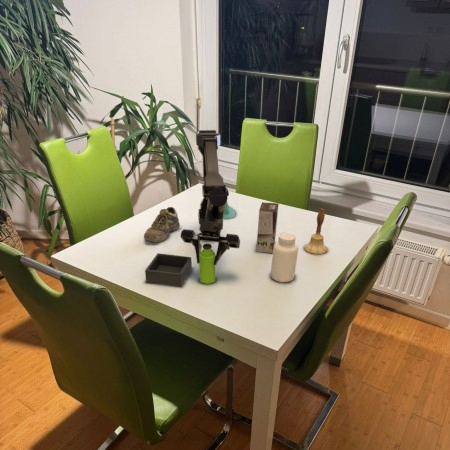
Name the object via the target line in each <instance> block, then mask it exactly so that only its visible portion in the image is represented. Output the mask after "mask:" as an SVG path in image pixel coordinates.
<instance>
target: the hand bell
mask: <svg viewBox="0 0 450 450" xmlns="http://www.w3.org/2000/svg"><path fill="white" fill-rule="evenodd" d="M325 217H326V215H325V209H324V208H322V207H321V208H320V209H319V211H318V214H317V216H316V231H315V233H313V234H312V235H311V236H310V240H309V242H308V243H307V244H306V245H305V246H304V250H305V251H306V252H308V253H309V254H314V255H321V254H324V253H326V252H327V251H328V249H327V247H326V245H325V243H324V235H323V234H322V233H321V232H322V226H323V224H324V221H325Z"/></svg>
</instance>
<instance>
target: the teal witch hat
mask: <svg viewBox="0 0 450 450" xmlns="http://www.w3.org/2000/svg"><path fill="white" fill-rule="evenodd" d="M235 216H236V212H235V210H234V209H233V208H231V207H230V206H229V202H228V201H227V203H226V206H225V209H224V215H223V220H228V219H232V218H234V217H235Z"/></svg>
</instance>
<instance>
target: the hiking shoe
mask: <svg viewBox="0 0 450 450" xmlns="http://www.w3.org/2000/svg"><path fill="white" fill-rule="evenodd" d="M178 215H179V214H178V212H177V209H176V208H175V207H173V206H168V207H167V208H161V209H160V210H159V214H157V216H156V217H155V219H154V221H152V224H151V225H150V227H148V228H147V229H146V231H145V232H144V233H143V239H144V240H146V241H150V242H154V243H160V242H164V241H166V240H167V239H168V237H169V233H171V232H172V233H173V232H175V231H178V230H179V228H180V226H181V224H180V220H179V216H178Z"/></svg>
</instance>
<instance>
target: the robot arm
mask: <svg viewBox="0 0 450 450" xmlns="http://www.w3.org/2000/svg"><path fill="white" fill-rule="evenodd" d="M195 145H196V146H197V150H198V151H199V153H200V155H201V156H202V176H203V177H202V181H203V183H202V185H201V193H202V200H201V201H200V203H199V208H198V214H197V219H198V225H199V231H200V232H199V233H197V232H196V231H195V230H194V229H188V228H187V229H185V228H184V229H182V230H181V232H180V239H181V240H182V242H184V243H186V244H191V245H192V246H193V247H194V251H195V258H196V264H199V253H200V252H202V248H203V244H202V243H201V241H202V242H210V243H211V242H213V243H217V249H216V252H215V254H216V256H215V261H214V265H215V266H217V264H218V262H219V261H220V259H221V257H222V256H223V255H224V253H225V252H226V251H229V250H230V248H231V249H240V247H241V239H240V236H239V235H238V234H233V233H226V234H225V236H221V232H222V230H223V229H224V219H223V215H224V209H225V206H226V203H227V202H228V197H229V196H230V192H229V189H228V187H227V185H226V184H225V182H224V177H223V176H222V175H221V173H220V171H219V170H220V169H219V158H218V149H219V147H220V146H221V134H220V133H219V132H218V133H217V130H216V129H199V130H198V133H195Z"/></svg>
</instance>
